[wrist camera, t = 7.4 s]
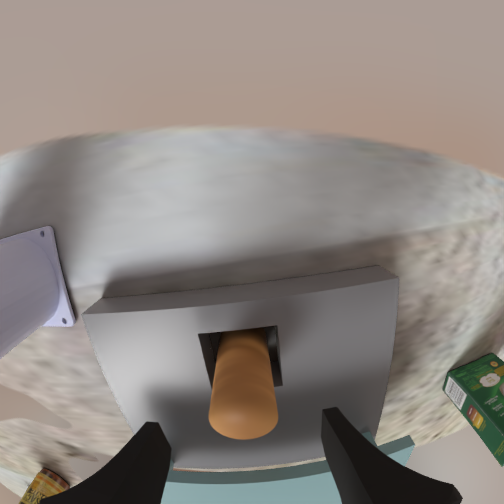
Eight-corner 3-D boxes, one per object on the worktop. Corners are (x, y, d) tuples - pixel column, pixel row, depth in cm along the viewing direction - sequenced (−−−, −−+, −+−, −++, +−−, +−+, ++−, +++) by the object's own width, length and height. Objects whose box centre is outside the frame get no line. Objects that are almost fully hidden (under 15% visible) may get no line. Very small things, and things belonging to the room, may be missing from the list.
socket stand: (159, 443, 21) (140, 509, 13) (100, 298, 18) (33, 355, 10) (363, 423, 21) (393, 487, 13) (378, 265, 18) (453, 312, 10)
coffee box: (438, 392, 21) (501, 471, 8) (445, 371, 21) (518, 450, 8) (485, 370, 21) (546, 429, 9) (492, 350, 21) (560, 407, 8)
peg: (224, 358, 19) (216, 441, 11) (216, 320, 19) (201, 397, 11) (268, 353, 19) (280, 435, 11) (263, 314, 19) (275, 391, 11)
